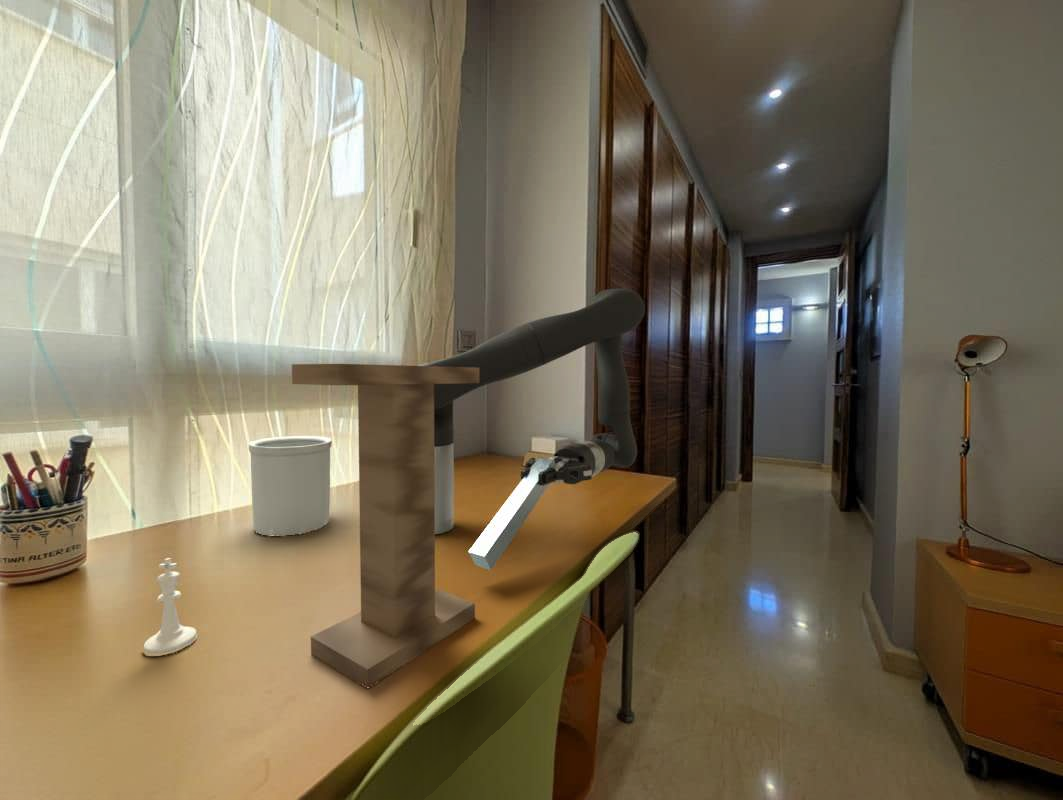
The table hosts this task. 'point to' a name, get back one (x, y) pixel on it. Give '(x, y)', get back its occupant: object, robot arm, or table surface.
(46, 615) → the table surface
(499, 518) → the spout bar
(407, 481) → the walnut stand
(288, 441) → the utensil holder
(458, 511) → the table surface
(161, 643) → the chess piece
